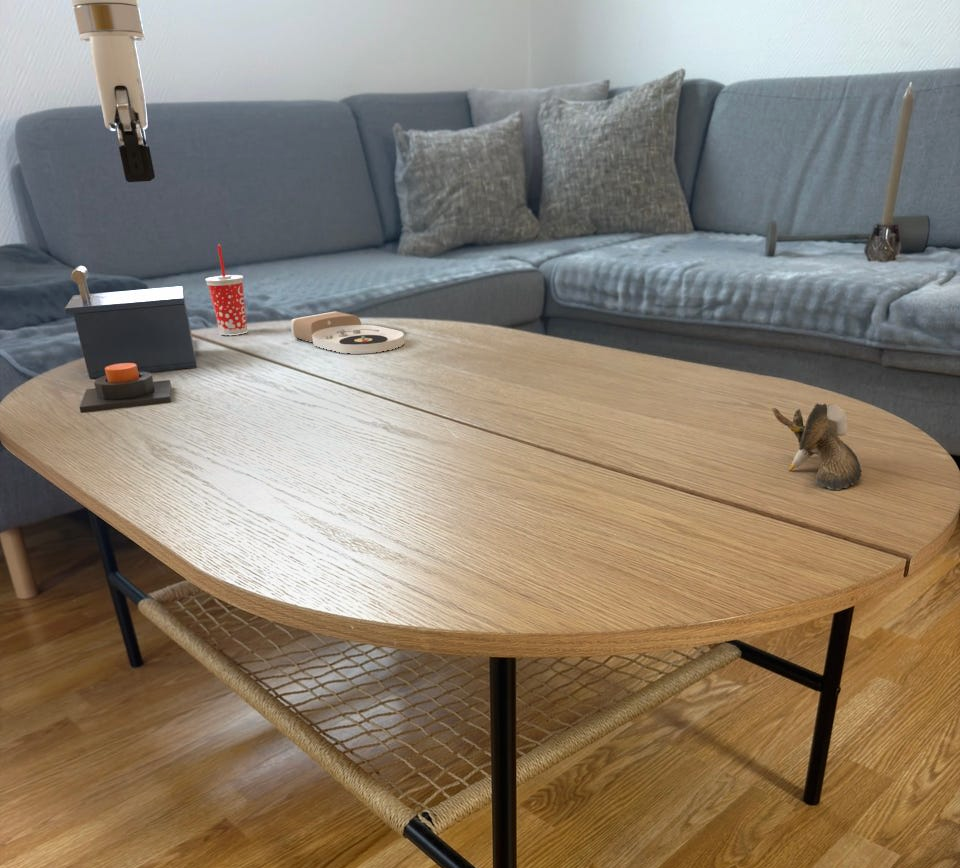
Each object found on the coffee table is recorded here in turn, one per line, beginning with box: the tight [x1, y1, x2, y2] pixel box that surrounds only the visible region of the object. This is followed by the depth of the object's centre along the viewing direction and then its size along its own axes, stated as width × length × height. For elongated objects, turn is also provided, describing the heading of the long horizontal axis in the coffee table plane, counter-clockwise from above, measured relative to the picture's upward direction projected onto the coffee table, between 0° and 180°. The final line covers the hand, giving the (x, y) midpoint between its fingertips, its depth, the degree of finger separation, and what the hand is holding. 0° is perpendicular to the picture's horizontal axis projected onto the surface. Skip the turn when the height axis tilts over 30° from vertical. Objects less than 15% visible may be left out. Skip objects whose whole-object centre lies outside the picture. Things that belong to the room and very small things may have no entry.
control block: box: [79, 371, 172, 414], centre depth 105 cm, size 10×9×4 cm
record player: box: [290, 310, 405, 355], centre depth 136 cm, size 12×3×20 cm
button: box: [105, 363, 139, 382], centre depth 104 cm, size 4×4×2 cm
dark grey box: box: [72, 296, 198, 380], centre depth 127 cm, size 15×13×9 cm
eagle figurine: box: [771, 402, 862, 491], centre depth 76 cm, size 8×7×9 cm
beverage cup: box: [205, 244, 248, 335], centre depth 145 cm, size 6×6×14 cm
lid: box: [64, 265, 185, 315], centre depth 124 cm, size 16×13×5 cm
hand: (141, 180), depth 115 cm, fingers open, 9 cm apart
